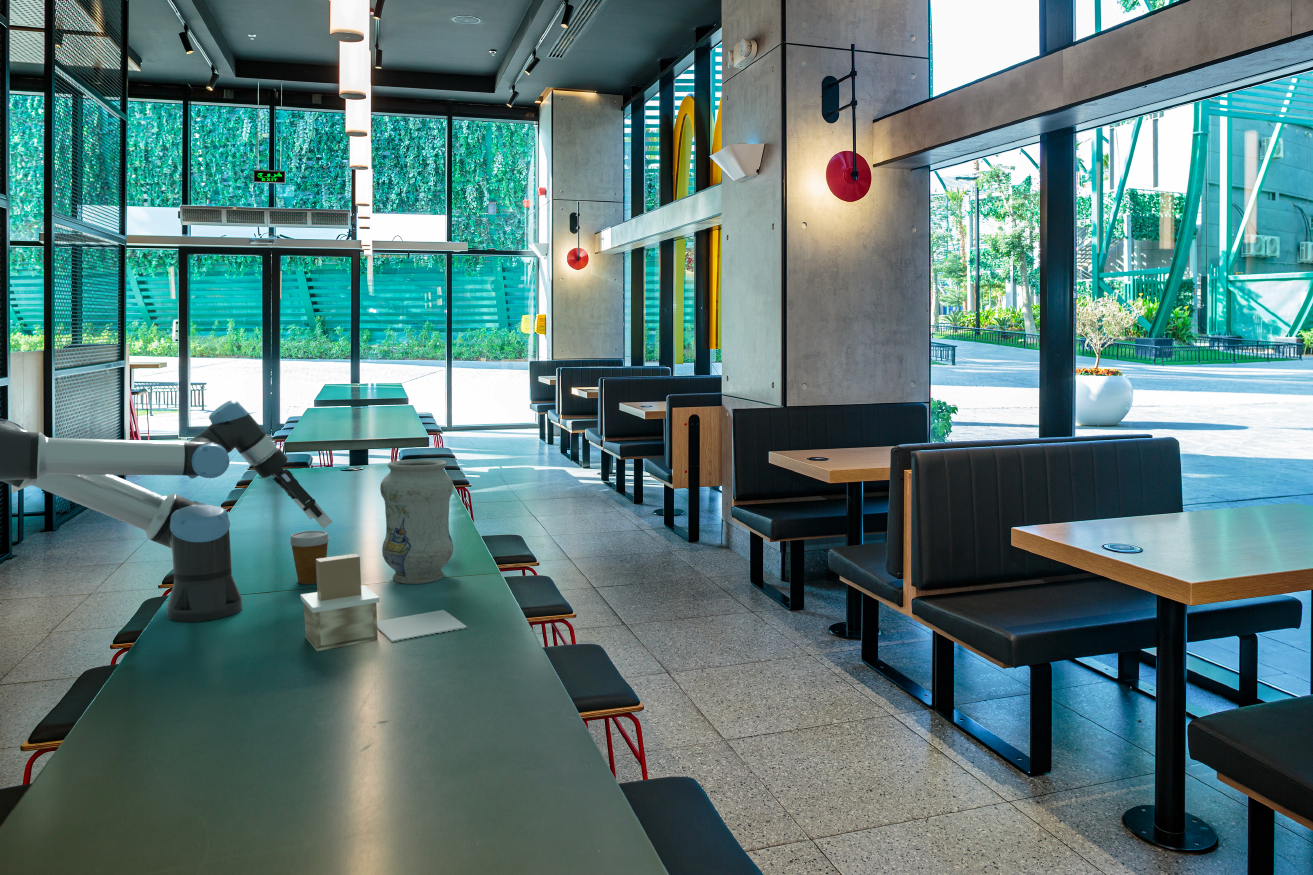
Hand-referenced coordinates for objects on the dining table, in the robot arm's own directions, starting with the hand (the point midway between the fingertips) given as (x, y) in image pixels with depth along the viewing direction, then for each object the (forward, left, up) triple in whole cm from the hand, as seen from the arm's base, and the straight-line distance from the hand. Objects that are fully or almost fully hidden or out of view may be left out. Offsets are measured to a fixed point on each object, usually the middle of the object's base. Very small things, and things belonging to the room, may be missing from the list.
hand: (321, 520), depth 232 cm
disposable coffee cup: (-3, +1, -16) cm, 16 cm away
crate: (-8, -48, -15) cm, 51 cm away
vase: (+21, -11, -16) cm, 29 cm away
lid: (-8, -48, -9) cm, 50 cm away
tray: (+8, -49, -15) cm, 52 cm away
